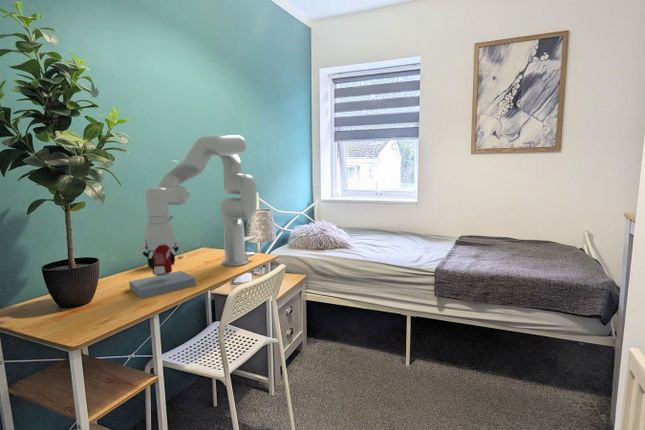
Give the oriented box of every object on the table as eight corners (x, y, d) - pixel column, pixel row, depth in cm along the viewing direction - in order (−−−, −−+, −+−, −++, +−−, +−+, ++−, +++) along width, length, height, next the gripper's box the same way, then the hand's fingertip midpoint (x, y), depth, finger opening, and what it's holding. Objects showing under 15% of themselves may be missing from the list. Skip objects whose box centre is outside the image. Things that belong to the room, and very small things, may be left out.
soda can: (164, 276, 135) (162, 245, 133) (148, 276, 136) (146, 245, 134) (175, 271, 141) (173, 241, 140) (160, 271, 142) (158, 241, 141)
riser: (181, 277, 151) (181, 270, 151) (196, 285, 141) (195, 278, 140) (129, 289, 138) (129, 281, 137) (141, 298, 127) (140, 290, 127)
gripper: (177, 216, 144) (180, 260, 147) (130, 221, 133) (134, 268, 135) (185, 218, 139) (188, 263, 141) (136, 223, 127) (140, 272, 130)
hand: (161, 265), depth 138 cm, fingers closed on soda can, 6 cm apart
